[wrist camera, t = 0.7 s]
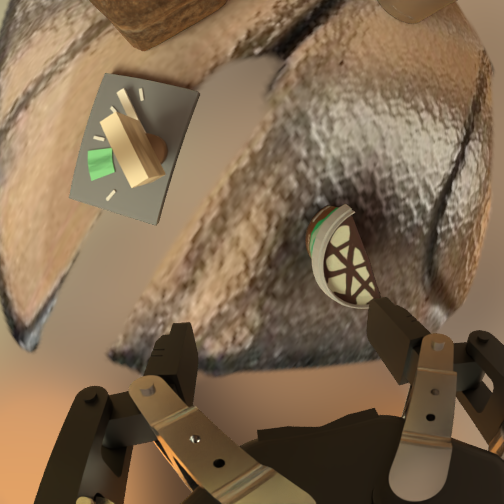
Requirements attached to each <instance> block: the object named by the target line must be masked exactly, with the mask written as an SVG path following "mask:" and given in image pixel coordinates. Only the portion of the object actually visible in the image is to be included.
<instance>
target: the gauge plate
mask: <svg viewBox="0 0 504 504" xmlns="http://www.w3.org/2000/svg"><path fill="white" fill-rule="evenodd" d="M123 88H124V89H125V90H126V92H127V94H128V96H129V99H130V101H131V103H132V105H133V107H134V109H135V111H136V113H137V115H138V117H139V119H140V121H141V123H142V125H143V127H144V129H145V131H146V133H149V134H153V135H156V136H159V137H161V138H162V139H163V140H164V141H165V143H166V145H167V148H168V153H167V157H166V159H165V161H164V162H163V163H162V164H161V166H162V168H163V170H164V172H165V173H166V175H164V176H162V177H161V178H159V179H157V180H155V181H154V182H152V183H148V184H145V185H141V186H137V187H134V188H131V186H130V184H129V182H128V180H127V178H126V176H125V174H124V172H123V170H122V168H121V166H120V164H119V162H118V160H117V158H116V156H115V154H114V152H113V150H112V148H111V146H110V143H109V141H108V139H107V137H106V135H105V133H104V131H103V128H102V126H101V124H100V122H101V121H102V120H104V119H105V118H107V117H108V116H110V115H111V114H113V113H114V112H119V113H121V114H124V115H126V116H127V114H126V112H125V110H124V108H123V105H122V103H121V101H120V99H119V97H118V95H117V92H118V91H120V90H121V89H123ZM199 96H200V93H199V92H197V91H194V90H190V89H186V88H182V87H177V86H173V85H169V84H164V83H159V82H155V81H150V80H144V79H139V78H134V77H128V76H122V75H115V74H109V73H105V75H104V77H103V80H102V82H101V85H100V87H99V90H98V93H97V96H96V98H95V101H94V104H93V107H92V110H91V113H90V116H89V119H88V123H87V126H86V129H85V132H84V136H83V139H82V143H81V147H80V151H79V154H78V158H77V162H76V167H75V171H74V175H73V180H72V185H71V190H70V195H69V198H70V199H73V200H76V201H79V202H82V203H85V204H89V205H92V206H95V207H98V208H101V209H105V210H108V211H111V212H114V213H118V214H120V215H124V216H127V217H130V218H134V219H136V220H140V221H143V222H146V223H149V224H152V225H157V224H158V223H159V220H160V216H161V212H162V209H163V205H164V202H165V198H166V194H167V191H168V188H169V184H170V181H171V178H172V174H173V171H174V168H175V165H176V161H177V158H178V155H179V152H180V149H181V146H182V143H183V140H184V137H185V134H186V132H187V129H188V126H189V123H190V120H191V117H192V115H193V112H194V109H195V107H196V104H197V101H198V99H199Z"/></svg>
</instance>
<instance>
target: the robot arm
mask: <svg viewBox="0 0 504 504" xmlns="http://www.w3.org/2000/svg"><path fill="white" fill-rule="evenodd" d="M455 1H457V0H378V2H379V3H380V5H381V6H382V7H383V8H384V9H385V10H386V11H387V12H388V13H389V14H390V15H392V16H393V17H395V18H396V19H398V20H400V21H403V22H406V23H411V24H412V23H418V22H420V21H421V20H423V19H425V18H426V17H428V16H430V15H432V14H434V13H435V12H437V11H439V10H440V9H442V8H444V7H446V6H448V5H449V4H451V3H453V2H455ZM367 337H368V340H369V342H370V343H371V345H372V346H373V348H374V349H375V351H376V352H377V354H378V355H379V356H380V358H381V359H382V361H383V362H384V364H385V365H386V367H387V368H388V370H389V371H390V372H391V374H392V375H393V377H394V378H395V380H396V381H397V383H398V384H399V385H402V384H405V383H410V384H411V385H410V388H409V392H408V396H407V399H406V403H405V407H404V410H403V414H402V417H397V416H390V415H378V414H377V412H376V410H375V408H372V409H368V410H365V411H361V412H357V413H353V414H349V415H346V416H344V417H342V418H340V419H337V420H335V421H333V422H331V423H328V424H326V425H324V426H321V427H291V426H287V427H280V428H272V429H264V430H257V433H258V439H255V440H252V441H249V442H247V443H245V444H243V445H241V446H238V445H237V444H236V443H235V442H233V441H232V440H231V439H230V438H229V437H228V436H227V435H225V434H224V433H223V432H222V431H221V430H220V429H219V428H218V427H217V426H216V425H215V424H213V422H211V421H210V420H209V419H208V418H207V417H206V416H205V415H204V414H203V413H202V412H201V411H200V410H199V409H198V408H197V407H196V406H194V405H193V401H194V393H195V385H196V378H197V371H198V352H197V348H196V343H195V339H194V334H193V330H192V326H191V323H190V322H186V323H173V325H172V328H171V331H170V334H169V335H162V336H161V337H160V338H159V339H158V340H157V341H156V343H155V345H154V348H153V351H152V353H151V357H150V359H149V362H148V364H147V367H146V370H145V373H144V375H143V377H140V378H138V379H136V380H135V381H133V382H132V384H131V385H130V386H129V391H127V392H123V393H119V394H113V395H108V392H107V391H106V390H105V389H104V388H103V387H100V386H90V387H87V388H85V389H83V390H82V391H80V392H79V393H78V394H77V395H76V397H75V399H74V401H73V403H72V406H71V408H70V410H69V412H68V415H67V417H66V419H65V422H64V424H63V426H62V428H61V431H60V433H59V436H58V438H57V441H56V443H55V446H54V448H53V450H52V453H51V456H50V458H49V461H48V463H47V466H46V469H45V472H44V475H43V477H42V480H41V483H40V486H39V489H38V492H37V495H36V498H35V501H34V504H124V497H125V491H126V484H127V478H128V472H129V466H130V461H131V455H132V450H133V445H137V444H142V443H147V442H152V441H153V442H154V443H155V445H156V446H157V447H158V449H159V450H160V451H161V453H162V454H163V455H164V457H165V458H166V459H167V461H168V462H169V463H170V464H171V466H172V467H173V468H174V469H175V471H176V472H177V473H178V475H179V476H180V478H181V479H182V480H183V482H184V483H185V484H186V485H187V487H188V488H189V489H190V490H191V492H192V493H191V494H190V495H189V496H188V497H187V498H186V499H185V500H184V501H183V502H182V503H180V504H504V345H503V344H502V343H501V342H500V341H499V340H498V339H497V338H495V337H494V336H493V335H492V334H490V333H489V332H486V331H481V330H478V331H473V332H472V333H470V334H469V337H468V341H467V342H464V343H453V341H452V340H451V339H450V338H449V337H448V336H446V335H443V334H438V333H433V334H431V333H430V332H429V331H428V330H427V329H426V328H425V327H424V326H423V325H422V324H421V323H420V322H419V321H417V319H416V318H415V317H413V316H412V315H411V314H410V313H409V312H408V311H407V310H406V309H404V308H402V307H400V306H398V305H396V306H395V305H394V304H393V303H392V302H391V301H390V300H389V299H388V298H387V297H382V298H377V299H372V300H370V302H369V310H368V320H367ZM485 373H486V374H487V375H488V377H489V378H490V379H491V380H492V382H493V385H494V389H493V393H492V392H491V391H490V390H489V389H488V387H487V386H486V385H485V384H484V382H483V381H482V379H483V377H484V374H485ZM456 397H457V399H458V400H459V402H460V403H461V405H462V406H463V407H464V409H465V410H466V412H467V413H468V415H469V416H470V418H471V419H472V421H473V422H474V424H475V425H476V427H477V428H478V430H479V431H480V433H481V434H482V436H483V437H484V439H485V440H486V442H487V444H488V445H489V447H488V451H487V450H484V449H481V448H478V447H475V446H472V445H469V444H467V443H464V442H461V441H459V440H456V439H453V438H451V434H452V427H453V419H454V409H455V398H456Z"/></svg>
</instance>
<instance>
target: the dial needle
mask: <svg viewBox="0 0 504 504" xmlns="http://www.w3.org/2000/svg"><path fill="white" fill-rule="evenodd" d="M117 95H118V97H119V99H120V101H121V103H122V105H123V108H124V110H125V112H126V114H127V116H126V115H124V114H121V113H119V112H114V113H113V114H111V115H110V116H108V117H107V118H105V119H104V120H102V121H101V122H100V124H101V126H102V128H103V131H104V133H105V135H106V137H107V139H108V141H109V143H110V146H111V148H112V150H113V152H114V154H115V156H116V158H117V160H118V162H119V164H120V166H121V168H122V170H123V172H124V174H125V176H126V178H127V180H128V182H129V184H130V186H131V188H134V187H137V186H141V185H145V184H148V183H152V182H154V181H155V180H157V179H159V178H161V177H162V176H164V175H166V173H165V172H164V170H163V168H162V166H161V164H162V163H163V162H164V161H165V159H166V157H167V153H168V148H167V145H166V143H165V141H164V140H163V139H162V138H161V137H159V136H156V135H153V134H149V133H146V131H145V129H144V127H143V125H142V123H141V121H140V119H139V117H138V115H137V113H136V111H135V109H134V107H133V105H132V103H131V101H130V99H129V96H128V94H127V92H126V90H125V89H124V88H123V89H121V90H120V91H118V92H117Z"/></svg>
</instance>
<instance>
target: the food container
mask: <svg viewBox="0 0 504 504" xmlns="http://www.w3.org/2000/svg"><path fill="white" fill-rule="evenodd" d="M354 213H355V212H354V211H353V210H352V209H351V208H350V207H349V206H348V205H346V204H344V205H343V206H341V207H339V208H338V207H333V206H329V205H327V206H326V207H324V208H322V209H321V210H320V211H319V212H318V213H317V214H316V215H315V216H314V217H313V218H312V220H311V222H310V224H309V226H308V228H307V233H306V239H305V241H306V248H307V251H308V254H309V255H310V257H311V259H312V267H313V273H314V276H315V279H316V281H317V283H318V285H319V286H320V288H321V289H322V290H323V291H324V293H325V294H327V295H328V296H329V297H330V298H332V299H333V300H335V301H337V302H338V303H340V304H342V305H345V306H348V307H352V308H359V309H361V308H369V302H370V300H372V299H377V298H382V297H381V296H380V292H379V290H378V287H377V284H376V280H375V277H374V274H373V270H372V267H371V263H370V260H369V257H368V255H367V252H366V250H365V247H364V245H363V242H362V240H361V237H360V234H359V232H358V229H357V227H356V224H355V221H354V219H353V216H352V214H354Z"/></svg>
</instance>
